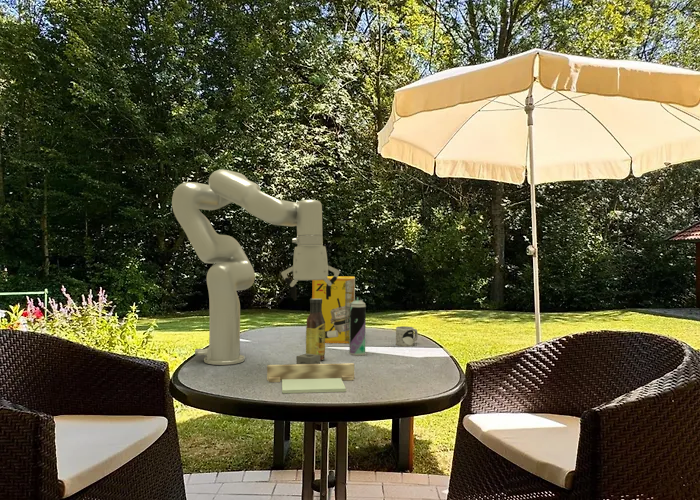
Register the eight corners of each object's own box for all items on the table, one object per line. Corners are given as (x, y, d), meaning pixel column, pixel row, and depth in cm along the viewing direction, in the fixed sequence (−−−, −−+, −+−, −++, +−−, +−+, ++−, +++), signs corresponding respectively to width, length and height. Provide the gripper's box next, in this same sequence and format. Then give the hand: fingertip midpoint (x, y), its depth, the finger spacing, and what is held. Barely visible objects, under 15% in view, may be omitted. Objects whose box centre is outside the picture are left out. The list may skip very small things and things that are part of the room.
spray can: (354, 356, 180) (354, 297, 180) (346, 353, 185) (347, 295, 185) (368, 354, 183) (368, 296, 183) (360, 352, 188) (361, 295, 188)
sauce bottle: (322, 362, 170) (322, 300, 170) (303, 361, 172) (303, 299, 172) (327, 358, 177) (327, 298, 177) (308, 357, 178) (309, 297, 178)
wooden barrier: (267, 382, 144) (267, 367, 144) (267, 377, 149) (267, 363, 149) (355, 380, 147) (355, 365, 147) (352, 376, 152) (352, 361, 152)
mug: (404, 347, 198) (404, 329, 198) (392, 344, 203) (392, 327, 203) (423, 344, 204) (423, 327, 204) (410, 342, 210) (410, 325, 210)
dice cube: (310, 375, 152) (310, 358, 152) (296, 373, 155) (296, 356, 155) (320, 372, 157) (320, 355, 157) (306, 370, 159) (306, 353, 159)
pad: (282, 393, 133) (282, 390, 133) (281, 382, 144) (282, 379, 144) (346, 391, 135) (346, 388, 135) (340, 381, 146) (341, 378, 146)
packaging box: (354, 343, 205) (354, 278, 205) (311, 343, 205) (312, 278, 205) (354, 336, 221) (354, 276, 221) (315, 336, 221) (315, 276, 221)
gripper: (279, 242, 154) (281, 301, 154) (339, 240, 155) (341, 299, 155) (281, 242, 161) (282, 299, 161) (338, 241, 162) (339, 298, 162)
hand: (311, 299), depth 158 cm, fingers open, 9 cm apart
